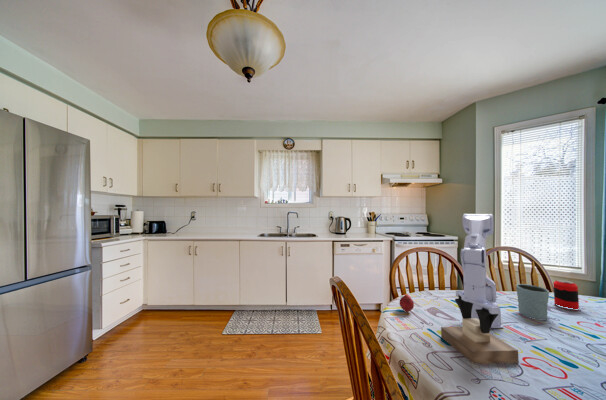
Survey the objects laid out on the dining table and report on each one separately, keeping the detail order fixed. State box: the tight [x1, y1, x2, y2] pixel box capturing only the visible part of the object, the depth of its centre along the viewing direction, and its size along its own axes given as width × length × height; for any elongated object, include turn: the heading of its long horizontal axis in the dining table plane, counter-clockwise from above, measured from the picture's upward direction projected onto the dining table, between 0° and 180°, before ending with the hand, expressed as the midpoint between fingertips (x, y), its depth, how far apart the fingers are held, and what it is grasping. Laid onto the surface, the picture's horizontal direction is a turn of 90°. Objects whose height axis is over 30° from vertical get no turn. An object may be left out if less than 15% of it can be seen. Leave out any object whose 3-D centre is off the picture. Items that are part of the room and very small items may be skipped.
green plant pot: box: [515, 283, 550, 320], centre depth 97 cm, size 10×10×12 cm
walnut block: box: [440, 326, 520, 365], centre depth 73 cm, size 14×14×4 cm
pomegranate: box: [399, 293, 415, 313], centre depth 99 cm, size 6×6×8 cm
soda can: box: [552, 279, 580, 309], centre depth 106 cm, size 8×8×12 cm
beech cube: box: [461, 318, 491, 342], centre depth 73 cm, size 5×5×5 cm
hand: (475, 326), depth 73 cm, fingers open, 7 cm apart
